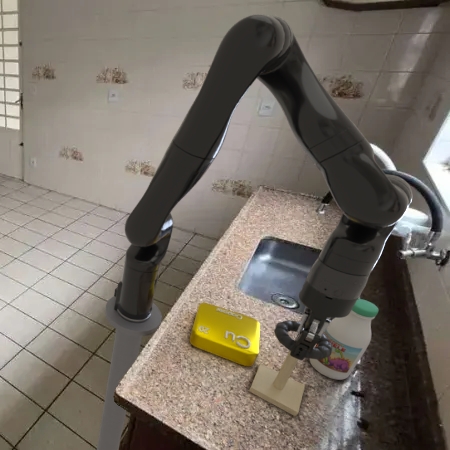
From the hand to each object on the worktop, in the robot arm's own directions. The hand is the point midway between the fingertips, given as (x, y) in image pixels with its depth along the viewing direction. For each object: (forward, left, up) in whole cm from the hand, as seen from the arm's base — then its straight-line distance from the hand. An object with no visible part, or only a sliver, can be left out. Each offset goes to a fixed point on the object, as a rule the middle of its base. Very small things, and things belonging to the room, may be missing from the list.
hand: (297, 352), depth 70 cm
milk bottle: (+8, +20, -16) cm, 26 cm away
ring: (0, +4, +1) cm, 4 cm away
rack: (0, +4, -15) cm, 16 cm away
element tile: (-14, +12, -16) cm, 24 cm away
